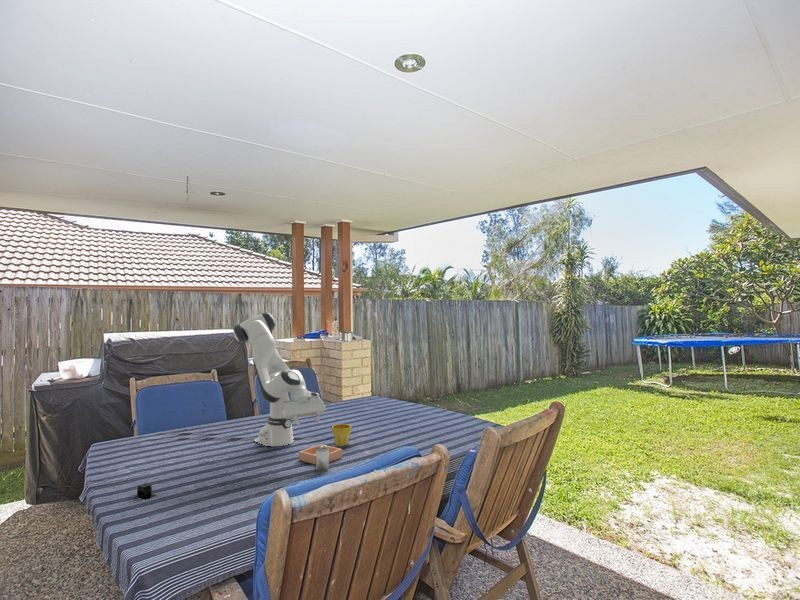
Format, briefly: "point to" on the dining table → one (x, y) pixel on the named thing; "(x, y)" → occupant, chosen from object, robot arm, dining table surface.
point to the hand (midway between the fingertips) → (308, 423)
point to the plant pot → (341, 434)
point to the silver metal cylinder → (322, 458)
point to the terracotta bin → (310, 454)
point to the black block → (144, 491)
